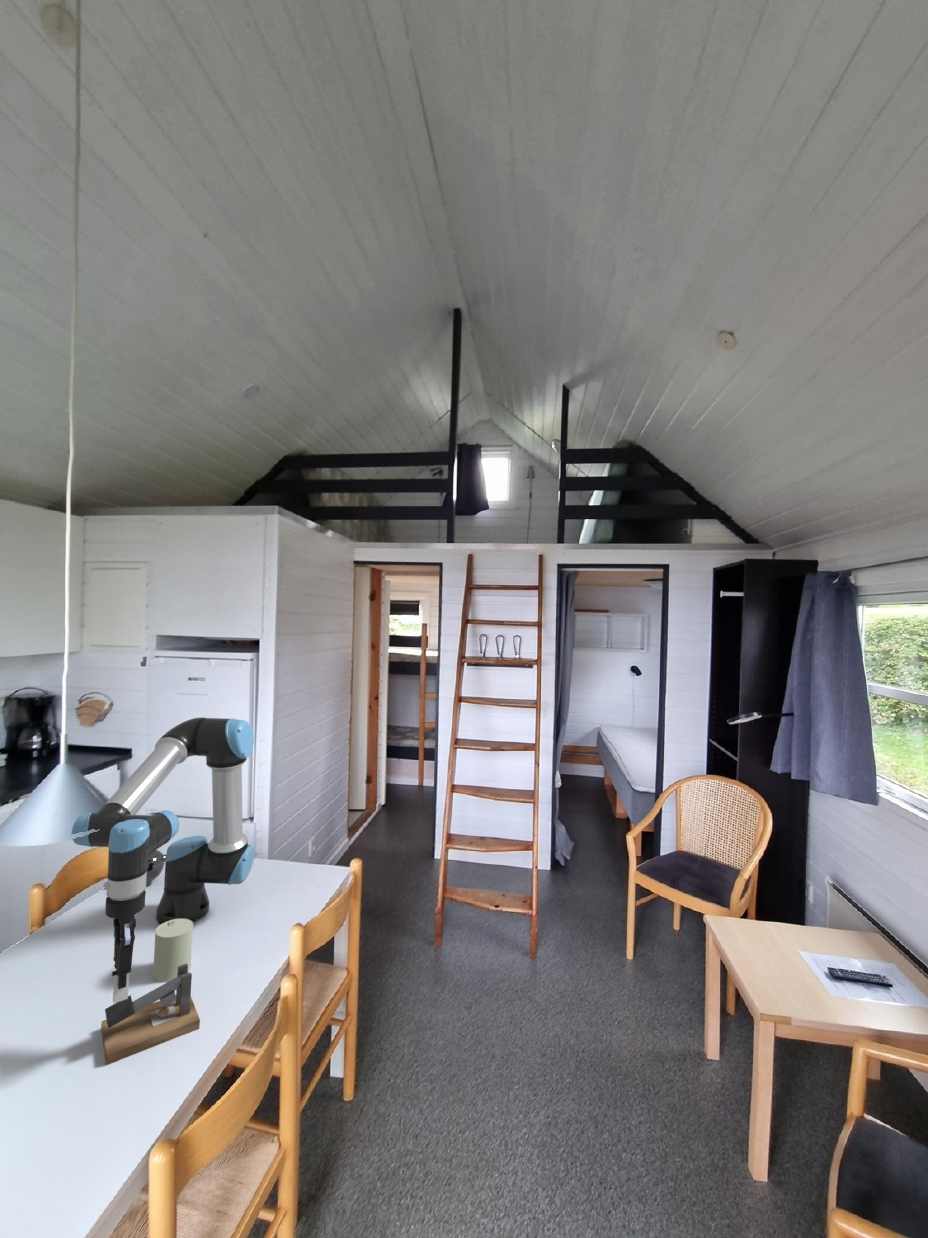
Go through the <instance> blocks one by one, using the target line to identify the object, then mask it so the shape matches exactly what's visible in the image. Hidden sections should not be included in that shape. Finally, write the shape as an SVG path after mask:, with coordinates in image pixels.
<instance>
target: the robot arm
mask: <svg viewBox="0 0 928 1238" xmlns="http://www.w3.org/2000/svg"><path fill="white" fill-rule="evenodd" d="M254 742H255V735H254V729H253V728H252V725H251V724H250V723H249V722H248V721H247V720H244V719H237V718H218V717H217V718H216V717H214V718H213V717H194V718H191V719H188V720H185V721H183V722H181V723H179V724H177V725H175V726H173V727H172V728H171V729H169V730H168V731H167V732H166V733H164V734H163V735H161V737H159V739H158V740H157V742H156V743H155V745H154V750H153V751H152V752H151V753H150V754H149V755H148V756H147V758H145V760H144V761H143V762H142V763H141V764H140V765H139V766H138V767H137V768H136V769H135V771H134V772H133V773H132V774H131V775H130V776H129V777H128V778H127V779H126V780H125V782H123V784H122V785H121V786H120V787H119V788H118V789H117V790H116V791H115V792H114V793H113V794H112V795H111V797H110V798H109V799H108V800H107V801H106V802H105V804H103V805H102V807H101V808H100V809H99V810H97V812H96V811H95V812H94V811H92V812H85V813H83V814H81V815H79V816H78V817H77V819H76V820H75V821H74V823H73V825H72V828H71V835H72V834H76V833H79V832H86V831H89V830H91V829H95V830H98V829H100V830H99V831H97V832H93V833H90V834H89V835H86V836H83V837H77V838H75V839H73V838H72V841H73V843H74V844H75V845H76V846H77V845H79V846H85V847H90V848H93V847H97V848H99V847H100V848H102V847H103V848H108V860H107V861H108V862H107V865H108V866H107V876H106V877H107V882H104V883H103V887H104V888H106V898H105V910H104V912H105V916H106V917H108V918H110V919H112V921H113V923H112V925H113V937H114V940H113V941H114V943H113V946H114V947H113V948H114V949H113V951H114V952H113V962H114V965H113V967H114V971H112V972H111V976H112V977H113V986H112V987H113V988H112V989H113V991H112V992H113V993H112V1003H113V1004H115V1003H117V1002H120V1001H123V1000H126V999H128V996H129V985H130V983H129V982H130V973H131V972H132V963H133V953H134V944H135V940H136V935H135V928H136V926H137V919H136V918H135V916H136V914H138V913H140V912H141V911H142V910H143V909H144V908H145V906H146V895H147V892H146V888H147V887H146V880H147V858H148V855H150V854H151V853H153V852H154V851H155V850H158V849H160V848H161V847H163V846H164V845H166V844H168V843H169V842H170V841H171V839H173V838H174V837H175V836H176V835H177V834H178V832H179V829H180V821H179V818H178V816H177V815H176V814H175V813H174V812H172V811H170V810H161V811H157V812H155V813H153V814H152V815H150V814H149V815H148V814H146V815H145V814H141V815H140V814H138V812H139V811H140V810H141V809H142V807H143V806H144V805H145V804H146V803H147V802H148V800H149V799H150V798H151V797H152V796H153V794H154V793H155V792H156V790H157V789H158V788H159V787H160V786H161V785H162V784H163V782H164V781H165V780H166V779H167V778H168V776H169V775H170V773H172V771H173V770H174V769H175V767H176V766H177V765H179V764H182V763H184V762H185V761H186V759H187V758H190V757H193V756H198V757H205V759H206V766H207V768H209V769H211V783H212V787H211V788H212V791H211V792H212V793H211V795H212V830H213V837H212V838H211V840H210V841H209V840H208V838H207V836H204V835H192V836H188V837H184V838H181V839H178V840H175V841H174V842H172V843H171V844H169V846H168V847H167V849H166V859H165V863H164V884H163V886H164V887H163V893H162V895H161V899H160V901H159V903H158V906H157V908H156V912H155V920H156V922H157V923H158V924H159V925H161V924H163V923H165V922H167V921H170V920H174V919H189V920H191V921H192V922H193V923H194V922H197V921H198V920H200V919H202V918H203V917H205V916H206V915H207V914H208V912H209V911H210V898H209V896H208V893H207V889H206V886H205V884H217V885H218V884H222V885H228V886H229V885H240V884H243V883H244V882H245V881H246V880H247V879H248V876H249V875H250V873H251V870H252V868H253V864H254V861H255V855H256V848H255V846H254V845H252V844H249V843H248V842H249V839H248V836H247V835H246V834H245V833H243V778H242V777H243V772H242V771H243V767H242V766H243V765H244V764H246V762H247V759H248V758H249V757H250V756H251V754H252V753H253V750H254V746H253V745H255V743H254ZM121 812H122V813H123V815H122V814H121ZM113 1004H112V1005H113Z"/></svg>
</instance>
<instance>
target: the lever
mask: <svg viewBox="0 0 928 1238" xmlns="http://www.w3.org/2000/svg"><path fill="white" fill-rule="evenodd" d="M188 973H189V972H188V971H183V972H181V973H180V974H179V975H178V977H176V978H174V979H172V980H171V981H169V982H164V984H162V985H160V986H158V987H156V988H155V989H153V990H151V991H149V992H147V993H146V994H144V995H142V996H140V997H139V998H137V999H135V1000H133V999H132V995H131V994H130V995H128V999H126V1000H123V1001H120V1002H117V1003H114V1004H111V1005H110V1006H108V1007H107V1008H105V1009H104V1012H105V1020H107V1024H108V1028H110V1027H112V1026H114V1025H115V1024H117V1023H119V1022H121V1021H123V1020H124V1019H126V1018H128V1017H130V1016H131V1015H133V1014H135V1013H137V1012H138V1011H140V1010H142V1009H143V1008H145V1007H147V1006H149V1005H150V1004H152V1003H155V1002H158V1001H160V1002H161V1005H162V1008H163V1007H165V1006H167V1005H168V1004H170V1003H172V1002H173V1001H175V1000H177V999H176V993H175V992H176V990H177V989H178V988H180V987H181V976H182V975H185V974H188Z"/></svg>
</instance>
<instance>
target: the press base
mask: <svg viewBox="0 0 928 1238" xmlns="http://www.w3.org/2000/svg"><path fill="white" fill-rule="evenodd" d="M183 971H188V964H187V963H186V964H183V965H180V966H178V973H177V977H178V975H179V974H180V973H181V972H183ZM192 976H193V974H192V972H188V974H185V975H182V976H181V987H180V988H178V989H177V990H175V992H176V993H175V995H176V999H177V1000H175V1001H173V1002H172V1003H170V1004H168V1005H167V1006H165V1007H163V1008H162V1005H161V1002H160V1000H157V1001H156V1002H154V1003H152V1004H150V1005H149V1006H147V1007H145V1008H143V1009H142V1010H140V1011H138V1012H137V1013H135V1014H133V1015H131V1016H130V1017H128V1018H126V1019H124V1020H123V1021H121V1022H119V1023H117V1024H115V1025H114V1026H112V1027H110V1028H108V1024H107V1019H104V1020H102V1021H101V1023H100V1024H101V1027H100V1031H101V1038H102V1046H103V1053H104V1059H105V1066H107V1065H110V1064H114V1063H115V1062H118V1061H120V1060H123V1059H125V1058H128V1057H130V1056H133V1055H136V1054H138V1053H141V1052H143V1051H146V1050H148V1049H151V1048H153V1047H156V1046H159V1045H160V1044H161V1045H162V1044H163V1043H166V1042H168V1041H172V1040H174V1039H176V1038H178V1037H181V1036H183V1035H186V1034H189V1033H191V1032H193V1031H196V1030H198V1029H200V1024H201V1023H200V1022H201V1019H200V1017H199V1014H198V1012H197V1011H198V1010H197V1009H196V1006H195V1004H194V1003H195V1002H194V1001H193V998H192V996H191V995H192V980H193V979H192V978H193V977H192Z"/></svg>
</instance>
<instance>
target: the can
mask: <svg viewBox="0 0 928 1238" xmlns="http://www.w3.org/2000/svg"><path fill="white" fill-rule="evenodd" d="M193 931H194V922H192V921H191V920H189V919H174V920H170V921H167V922H165V923H163V924H159V925H158V926H157V927H156V928H155V931H154V949H153V950H154V953H153V967H152V974H151V977H152V979H153V980H154V981H157V982H160V983H167V982H169V981H171V980H172V979H174V978H176V977H177V973H178V966H180V965H183V964H186V963H187V964H188V973H190V972H191V971H190V970H191V969H192V948H193V947H192V946H193V945H192V944H193Z"/></svg>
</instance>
